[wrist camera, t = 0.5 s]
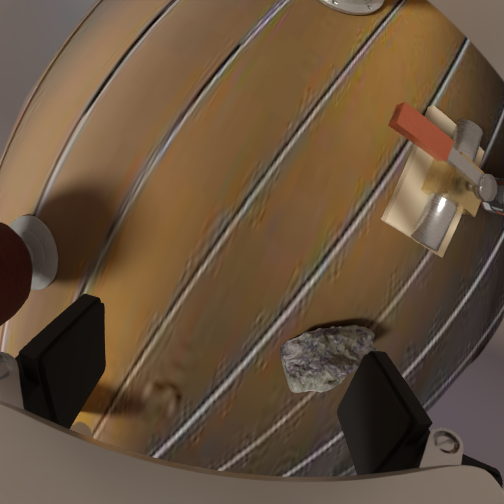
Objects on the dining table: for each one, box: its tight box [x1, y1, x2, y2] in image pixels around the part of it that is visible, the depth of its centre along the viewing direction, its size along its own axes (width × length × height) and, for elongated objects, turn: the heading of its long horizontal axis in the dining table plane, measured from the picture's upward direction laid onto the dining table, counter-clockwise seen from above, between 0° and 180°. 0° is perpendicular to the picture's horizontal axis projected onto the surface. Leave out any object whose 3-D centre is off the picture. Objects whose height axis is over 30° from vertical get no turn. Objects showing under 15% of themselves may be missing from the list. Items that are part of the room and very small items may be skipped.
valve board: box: [381, 105, 484, 257], centre depth 36 cm, size 19×12×2 cm, turn 155°
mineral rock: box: [280, 325, 376, 393], centre depth 38 cm, size 13×11×10 cm
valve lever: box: [388, 102, 497, 201], centre depth 26 cm, size 16×3×2 cm, turn 65°
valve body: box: [411, 119, 485, 252], centre depth 31 cm, size 19×6×8 cm, turn 155°
